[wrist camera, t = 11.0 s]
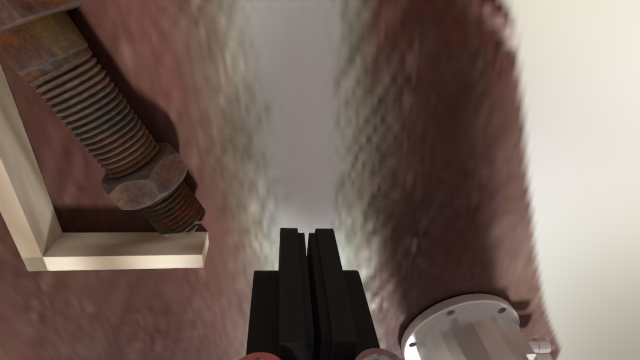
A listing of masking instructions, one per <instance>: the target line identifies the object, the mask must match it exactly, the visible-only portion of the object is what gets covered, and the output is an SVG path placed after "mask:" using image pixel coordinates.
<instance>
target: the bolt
mask: <svg viewBox="0 0 640 360" xmlns="http://www.w3.org/2000/svg"><path fill="white" fill-rule="evenodd" d="M81 2H82V0H0V55H1V56H2V57H3V58H4V59H5V60H6V62H7V63H8V64H9V65H10V66H11V67H12V68H13V70H14V71H15V72H16V73H17V74H18V75H20V76H22V77H23V78H24V79H25V80H27V81H28V83H29V85H30V86H37V88H36V89H35V91H36V92H40V93H42V95H41V96H40V97H41V98H44V99H48V100H47V101H46V104H49V105H52V107H51V110H54V111H57V113H56V116H60V117H62V119H61V122H67V124H66V126H65V127H67V128H72V129H71V131H70V132H71V133H76V135H75V138H81V139H80V141H79V142H80V143H81V144H85V145H84V148H85V149H89V151H88V153H90V154H93V158H95V159H98V160H97V163H101V164H102V165H101V168H106V169H105V172H106V174H105V175H104V177H103V179H102V186H103V188H104V189H105V191H106V193H107V194H108V196H109V197H110V198H111V199H112V200H113V201H114V202H115V203H116V205H117V206H118V207H119V208H120V209H121V210H135V209H138V210H139V211H141V212H142V214H143V215H145V218H146V219H148V221H149V222H150V223H151V225H152V226H153V227H154V228H155V229H156V230H157V231H158V233H159V234H161V235H164V236H166V237H176V236H186V235H190V234H192V233H193V232H194V231H195V230H196V228H197V227H198V225H196V224H199V223H202V221H203V218H204V216H205V209H204V208H203V207H202V205H201V204H200V202H199V201H198V200H197V198H196V197H195V196H194V194H193V193H192V191H191V190H190V189H189V187H188V186H187V185H186V183H185V181H183V178H184V177H185V175H186V171H187V168H188V167H187V166H186V164H185V163H184V161H183V160H182V158H181V157H180V155H179V154H178V153H177V151H176V150H175V149H174V148H173V147H172V146H171V145H170V144H169V143H166V142H160V143H155V139H153V138H152V135H151V134H148V130H147V129H145V125H143V124H141V120H139V119H137V115H136V114H133V113H134V111H133V109H129V108H130V105H129V104H125V103H126V99H124V98H122V93H117V92H118V88H116V87H113V86H114V82H109V80H110V77H109V76H104V75H105V73H106V71H105V70H100V68H101V65H100V64H96V61H97V59H96V58H93V57H91V56H92V52H91V50H90V49H89V47H88V43H87V42H86V40H85V39H84V37H83V36H82V35H81V33H80V32H79V30H78V29H77V27H76V26H75V25H74V23H73V22H72V20H71V19H70V17H69V16H68V15H67V13H66V12H68V11H70V10H73V9H75V8H77V7H79V6H80V4H81Z"/></svg>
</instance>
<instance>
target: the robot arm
mask: <svg viewBox="0 0 640 360" xmlns="http://www.w3.org/2000/svg"><path fill="white" fill-rule="evenodd" d="M519 324H520V321H519V316H518V315H517V313H516V311H515V310H514V309H513V307H512V306H511V305H510V304H509V303H508V301H506V300H504V299H503V298H501V297H498V296H494V295H489V294H468V295H462V296H457V297H454V298H451V299H447V300H445V301H443V302H440V303H438V304H436V305H434V306H432V307H431V308H429V309H427V310H426V311H424V312H423V313H422V314H420V315H419V316H418V317H417V318H416V319H415V320H414V321H413V322H412V323H411V324H410V325H409V326H408V328H407V329H406V331H405V332H404V335H403V337H402V341H401V349H402V353H403V356H404V358H405V360H552V357H551V356H550V354H549V353H548V352H550V351H551V345H550V343H549V341H548V340H547V339H546V338H532V339H526V338H525V337H524V336H523V335H522V333H521V332H520V330H519ZM239 360H402V359H401V358H400V357H399V356H398V355H396V354H395V353H393V352H391V351H389V350H385V349H381V348H380V346H379V343H378V339H377V335H376V332H375V328H374V325H373V321H372V317H371V314H370V310H369V307H368V303H367V299H366V296H365V292H364V289H363V285H362V282H361V278H360V275H359V272H358V271H357V270H342V266H341V261H340V256H339V252H338V247H337V243H336V238H335V234H334V230H333V229H316V230H315V233H309V238H308V248H307V256H306V245H305V235H304V233H298V229H297V228H280V247H279V270H278V271H254V277H253V288H252V298H251V309H250V319H249V329H248V340H247V350H246V355H245V356H244V357H242V358H241V359H239Z"/></svg>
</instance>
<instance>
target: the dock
mask: <svg viewBox="0 0 640 360" xmlns="http://www.w3.org/2000/svg"><path fill="white" fill-rule="evenodd" d="M0 212H1V214H2V216H3V218H4V220H5V222H6V224H7V227H8V229H9V231H10V233H11V235H12V237H13V239H14V242H15V244H16V246H17V248H18V250H19V252H20V254H21V257H22V259H23V261H24V263H25V265H26V267H27V269H28V271H54V270H102V269H149V268H197V267H204V262H205V258H206V254H207V249H208V245H209V241H208V232H193V233H192V234H190V235H186V236H176V237H166V236H164V235H161V234H159V233H158V232H101V233H62V230H61V227H60V224H59V222H58V219H57V216H56V213H55V211H54V208H53V205H52V203H51V200H50V197H49V194H48V192H47V189H46V186H45V183H44V181H43V178H42V175H41V173H40V170H39V167H38V164H37V162H36V159H35V156H34V153H33V151H32V148H31V145H30V143H29V140H28V137H27V134H26V132H25V129H24V126H23V123H22V121H21V118H20V115H19V113H18V110H17V107H16V104H15V102H14V99H13V96H12V94H11V91H10V88H9V85H8V83H7V80H6V77H5V74H4V72H3V69H2V66H1V64H0Z"/></svg>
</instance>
